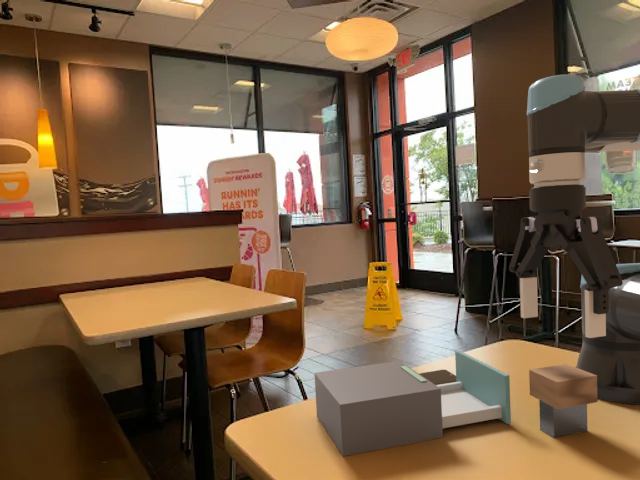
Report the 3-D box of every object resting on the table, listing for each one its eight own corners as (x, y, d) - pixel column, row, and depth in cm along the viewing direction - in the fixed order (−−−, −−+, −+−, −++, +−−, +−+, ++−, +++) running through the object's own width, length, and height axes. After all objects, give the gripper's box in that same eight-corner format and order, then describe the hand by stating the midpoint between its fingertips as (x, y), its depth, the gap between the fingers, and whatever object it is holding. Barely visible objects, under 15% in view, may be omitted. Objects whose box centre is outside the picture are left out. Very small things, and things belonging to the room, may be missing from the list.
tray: (460, 390, 92) (458, 350, 91) (510, 422, 77) (509, 375, 77) (381, 403, 88) (379, 361, 87) (419, 439, 73) (417, 389, 73)
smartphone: (374, 380, 99) (445, 368, 103) (374, 385, 100) (445, 373, 103) (388, 393, 92) (463, 379, 96) (388, 398, 92) (463, 385, 96)
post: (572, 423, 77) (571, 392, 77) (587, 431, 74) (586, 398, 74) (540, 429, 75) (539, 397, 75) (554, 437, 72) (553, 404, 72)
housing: (401, 401, 89) (399, 359, 88) (442, 437, 74) (440, 387, 74) (316, 415, 85) (314, 371, 84) (342, 456, 70) (339, 403, 70)
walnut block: (567, 388, 78) (566, 363, 78) (597, 402, 72) (596, 375, 72) (529, 394, 76) (529, 369, 76) (557, 409, 71) (557, 382, 70)
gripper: (485, 190, 84) (488, 312, 85) (604, 178, 59) (607, 350, 61) (523, 188, 85) (526, 308, 87) (653, 177, 61) (655, 343, 63)
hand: (559, 326), depth 74 cm, fingers open, 13 cm apart
